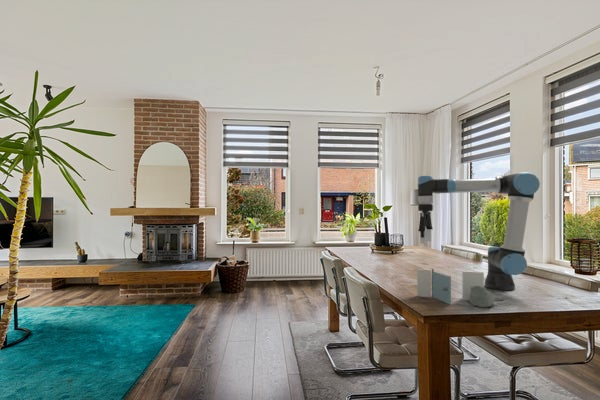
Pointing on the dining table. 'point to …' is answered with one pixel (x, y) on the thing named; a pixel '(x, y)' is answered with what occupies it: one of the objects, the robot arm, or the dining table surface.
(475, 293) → the decorative stone
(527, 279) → the dining table surface
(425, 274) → the wall
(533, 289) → the dining table surface
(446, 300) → the door
